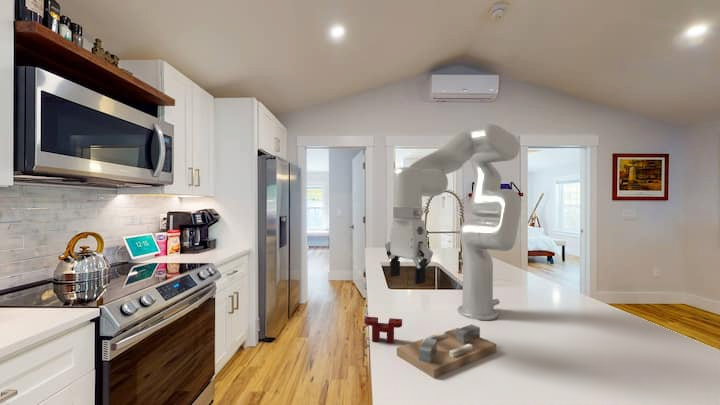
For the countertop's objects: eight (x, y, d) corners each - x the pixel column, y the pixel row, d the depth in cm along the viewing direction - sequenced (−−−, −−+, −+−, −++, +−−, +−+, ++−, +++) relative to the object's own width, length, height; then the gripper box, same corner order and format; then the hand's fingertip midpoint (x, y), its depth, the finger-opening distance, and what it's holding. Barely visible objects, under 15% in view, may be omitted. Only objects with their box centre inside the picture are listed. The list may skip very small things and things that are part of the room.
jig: (457, 335, 88) (457, 318, 88) (496, 352, 78) (496, 333, 78) (396, 355, 76) (396, 337, 76) (433, 379, 66) (433, 357, 66)
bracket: (401, 323, 82) (363, 320, 84) (401, 344, 82) (363, 341, 84) (402, 319, 85) (365, 316, 86) (402, 339, 85) (365, 336, 87)
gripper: (442, 215, 78) (441, 284, 78) (397, 213, 93) (396, 272, 92) (420, 215, 74) (419, 288, 74) (376, 213, 88) (375, 274, 88)
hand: (406, 279), depth 83 cm, fingers open, 9 cm apart
